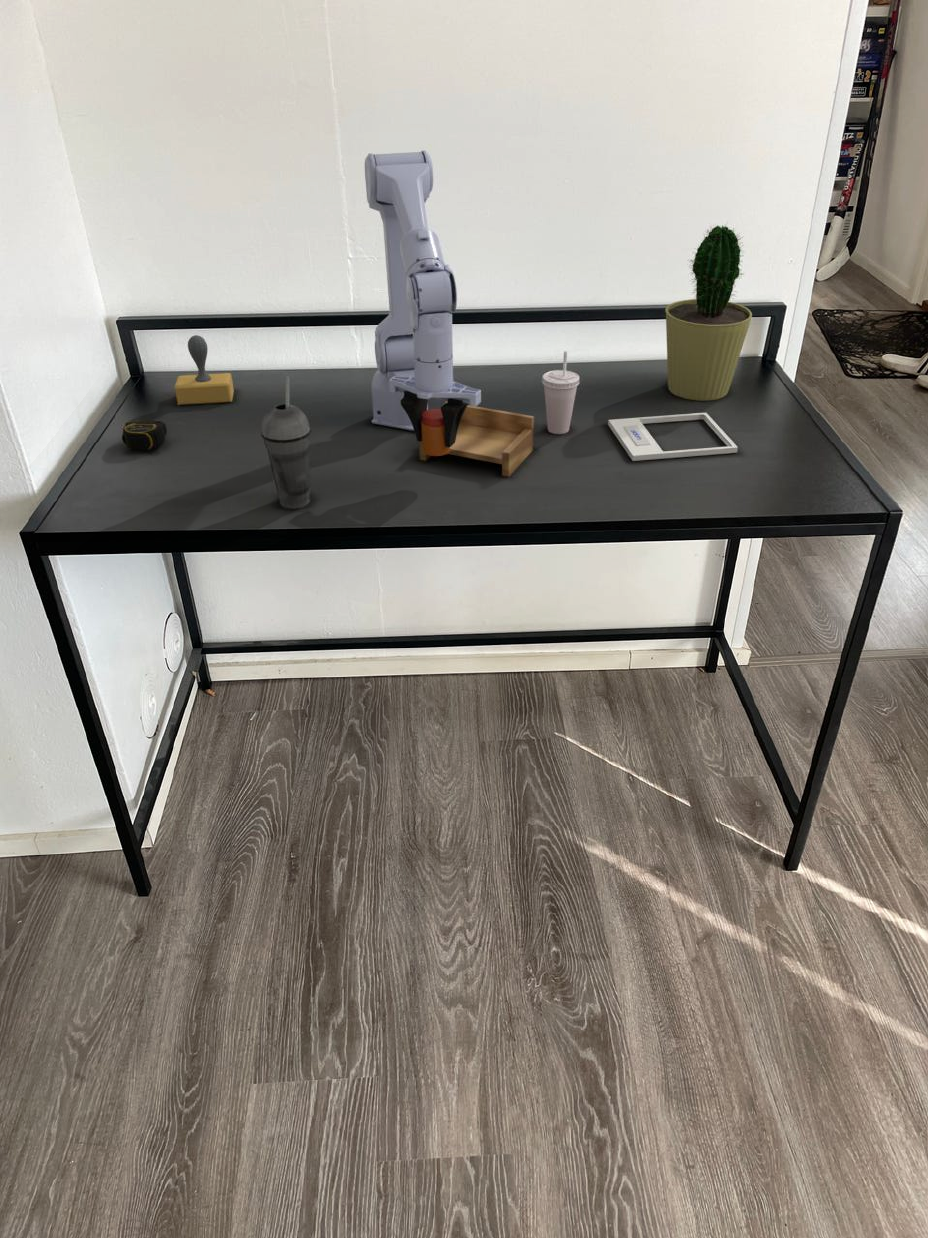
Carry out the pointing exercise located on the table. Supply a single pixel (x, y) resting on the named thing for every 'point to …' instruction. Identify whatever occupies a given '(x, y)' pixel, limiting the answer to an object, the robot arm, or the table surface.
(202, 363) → the rubber stamp
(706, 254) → the potted cactus
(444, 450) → the spice bottle
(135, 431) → the tape measure
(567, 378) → the smoothie
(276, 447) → the beverage cup
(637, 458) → the photo frame
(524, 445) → the shelf
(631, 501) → the table surface
